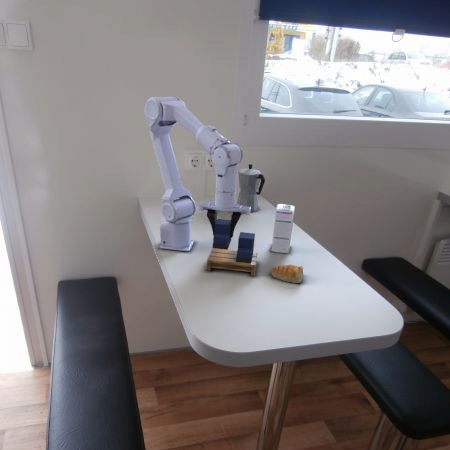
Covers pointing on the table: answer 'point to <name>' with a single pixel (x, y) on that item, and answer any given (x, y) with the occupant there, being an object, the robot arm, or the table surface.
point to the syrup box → (283, 228)
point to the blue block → (222, 234)
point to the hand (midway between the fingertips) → (223, 235)
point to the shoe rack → (229, 261)
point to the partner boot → (245, 247)
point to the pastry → (288, 273)
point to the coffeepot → (250, 187)
